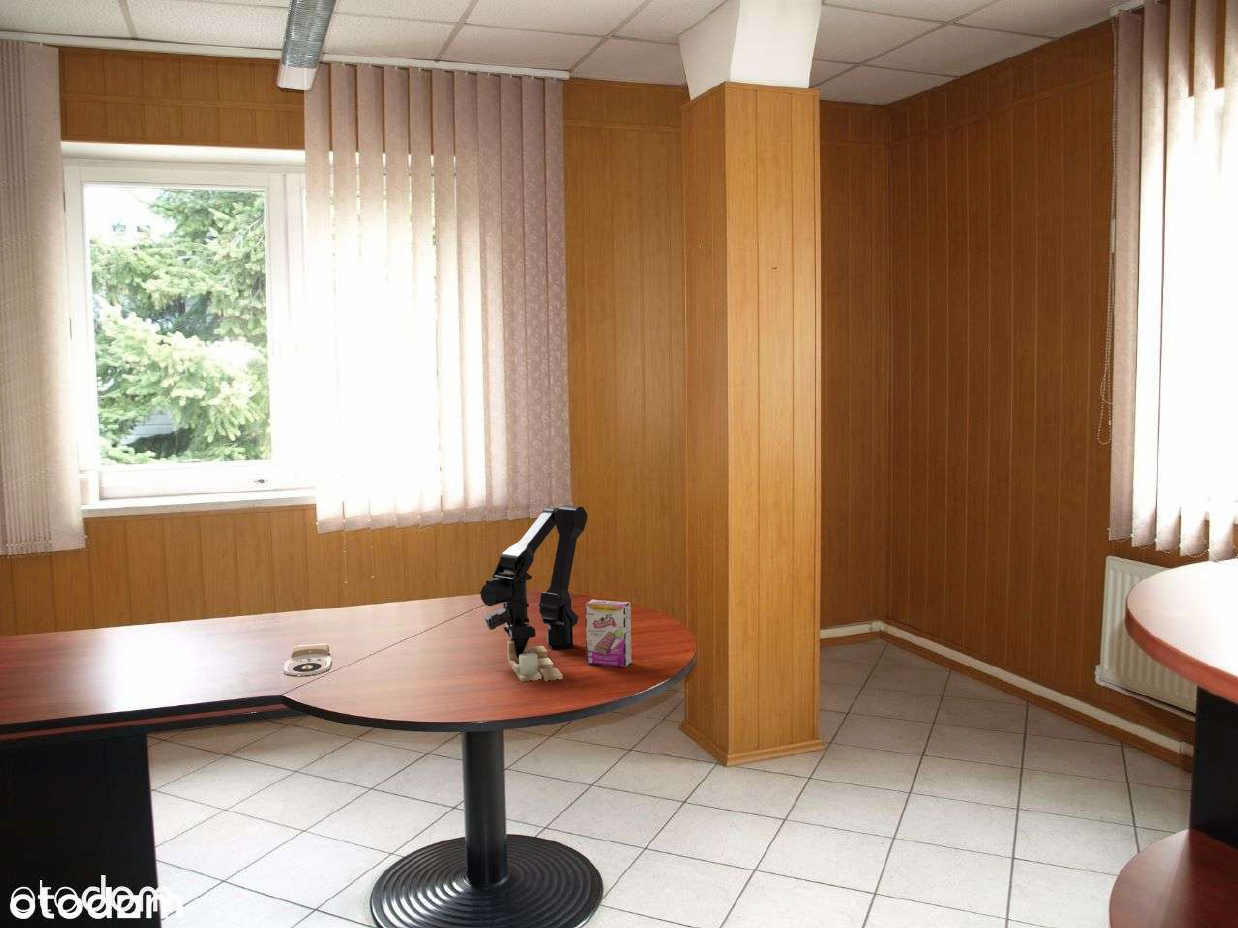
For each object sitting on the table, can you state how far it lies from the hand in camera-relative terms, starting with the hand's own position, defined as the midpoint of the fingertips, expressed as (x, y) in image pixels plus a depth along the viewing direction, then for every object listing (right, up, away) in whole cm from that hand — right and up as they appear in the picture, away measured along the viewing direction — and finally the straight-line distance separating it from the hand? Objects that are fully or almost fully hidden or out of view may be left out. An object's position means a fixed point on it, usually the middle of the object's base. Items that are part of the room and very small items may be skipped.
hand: (518, 656), depth 278 cm
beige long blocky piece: (+2, -2, -8) cm, 8 cm away
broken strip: (+7, -2, -6) cm, 9 cm away
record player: (-56, -3, +1) cm, 56 cm away
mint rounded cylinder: (+4, -2, -14) cm, 14 cm away
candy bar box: (+24, -1, -4) cm, 25 cm away
